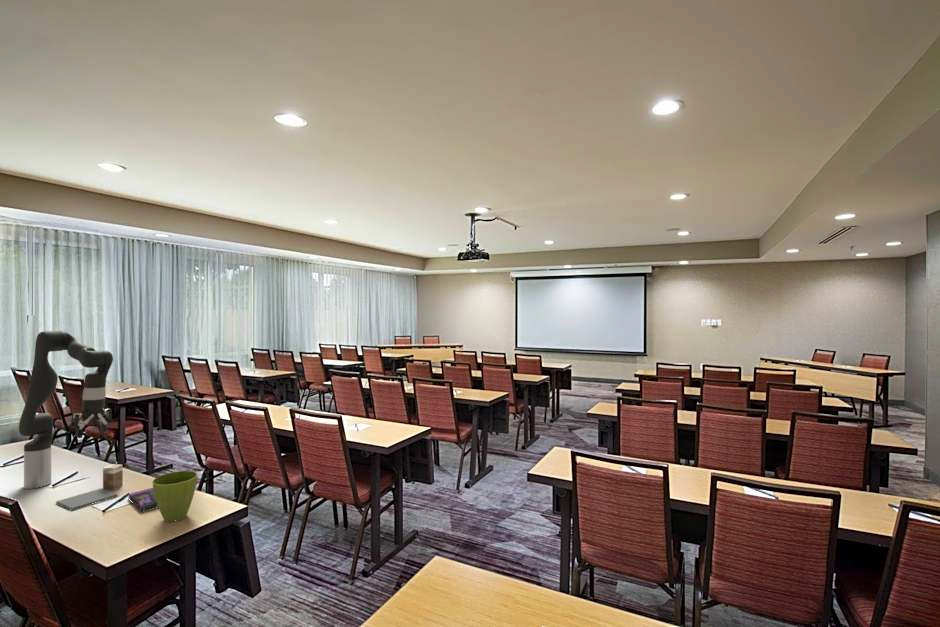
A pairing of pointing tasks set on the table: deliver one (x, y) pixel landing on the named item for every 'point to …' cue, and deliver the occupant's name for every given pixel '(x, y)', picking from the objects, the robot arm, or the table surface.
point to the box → (144, 499)
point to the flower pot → (174, 493)
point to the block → (112, 477)
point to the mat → (86, 499)
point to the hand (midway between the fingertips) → (90, 435)
